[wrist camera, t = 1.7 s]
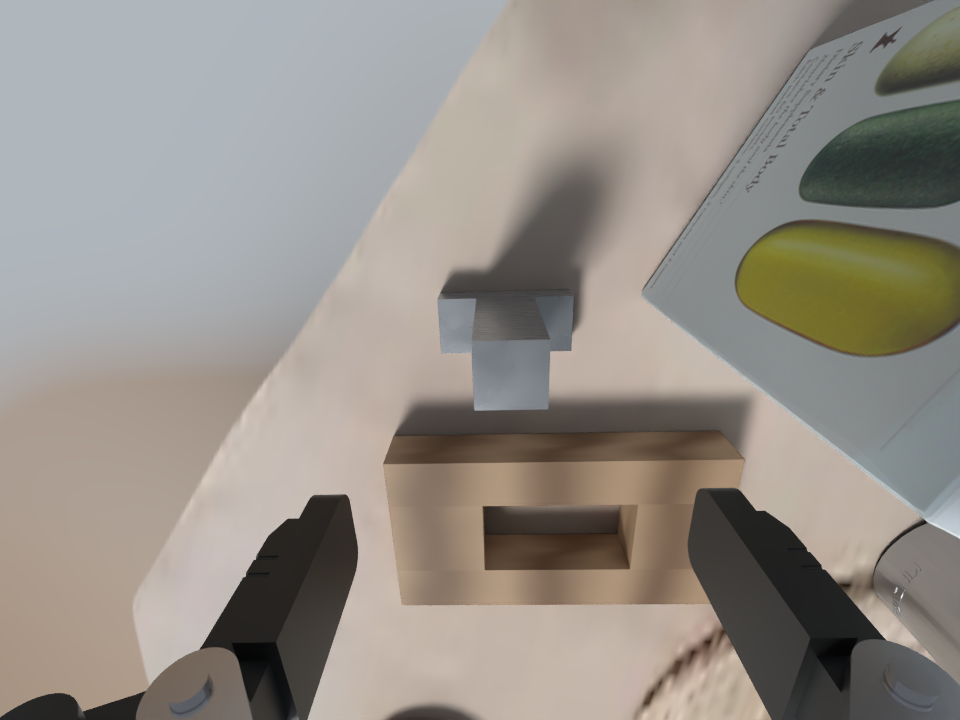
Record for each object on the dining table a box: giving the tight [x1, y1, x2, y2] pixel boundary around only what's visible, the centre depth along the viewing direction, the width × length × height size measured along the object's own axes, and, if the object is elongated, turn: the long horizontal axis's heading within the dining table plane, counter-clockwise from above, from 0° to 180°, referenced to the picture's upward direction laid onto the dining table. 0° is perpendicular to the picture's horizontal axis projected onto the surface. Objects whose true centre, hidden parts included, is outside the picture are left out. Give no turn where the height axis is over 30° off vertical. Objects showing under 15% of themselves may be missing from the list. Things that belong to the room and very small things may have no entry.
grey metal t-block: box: [438, 289, 574, 411], centre depth 21 cm, size 7×3×8 cm, turn 92°
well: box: [383, 431, 745, 605], centre depth 28 cm, size 20×11×3 cm, turn 92°
